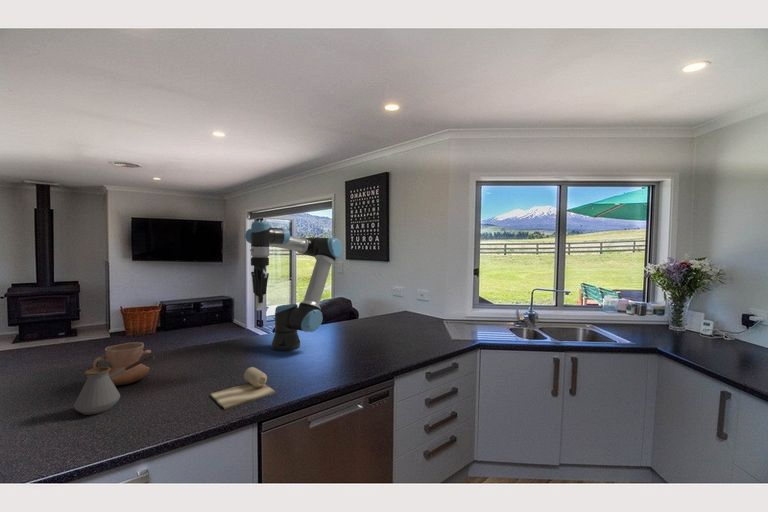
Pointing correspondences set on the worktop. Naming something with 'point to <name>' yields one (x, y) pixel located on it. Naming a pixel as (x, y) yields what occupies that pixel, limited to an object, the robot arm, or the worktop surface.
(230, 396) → the birch board
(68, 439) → the worktop surface
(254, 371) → the candle
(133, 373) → the stacked tan cups
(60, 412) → the worktop surface
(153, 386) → the worktop surface
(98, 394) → the coffee pot
